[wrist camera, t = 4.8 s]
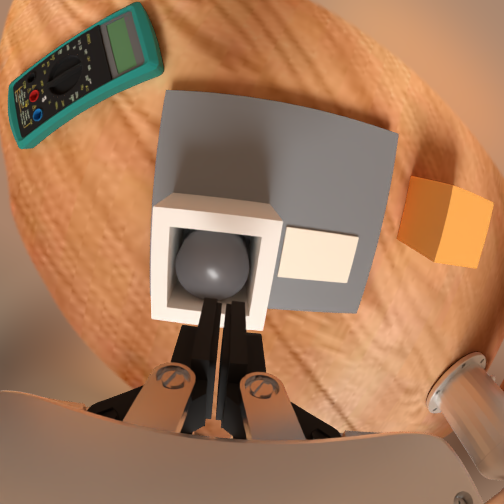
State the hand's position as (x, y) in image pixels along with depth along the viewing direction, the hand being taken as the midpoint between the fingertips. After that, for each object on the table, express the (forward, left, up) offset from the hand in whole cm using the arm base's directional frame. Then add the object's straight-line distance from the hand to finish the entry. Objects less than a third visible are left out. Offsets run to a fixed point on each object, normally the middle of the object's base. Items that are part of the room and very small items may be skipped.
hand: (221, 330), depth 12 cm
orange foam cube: (-18, -5, -12) cm, 22 cm away
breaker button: (+1, 0, -10) cm, 10 cm away
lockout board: (-3, -3, -12) cm, 13 cm away
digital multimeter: (+14, -13, -13) cm, 23 cm away
